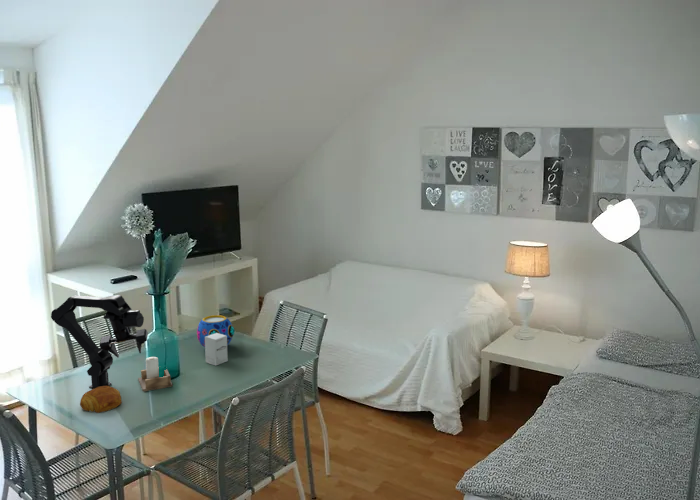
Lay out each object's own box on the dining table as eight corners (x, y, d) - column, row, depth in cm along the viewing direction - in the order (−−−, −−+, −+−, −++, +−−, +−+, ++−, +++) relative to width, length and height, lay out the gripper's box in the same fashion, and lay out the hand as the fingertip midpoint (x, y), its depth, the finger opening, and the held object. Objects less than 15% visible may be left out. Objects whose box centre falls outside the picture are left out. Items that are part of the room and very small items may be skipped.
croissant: (77, 410, 249) (72, 392, 246) (114, 393, 259) (110, 376, 256) (92, 422, 238) (87, 403, 236) (130, 404, 248) (126, 386, 246)
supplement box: (216, 366, 288) (214, 339, 285) (205, 362, 292) (204, 336, 290) (228, 361, 293) (227, 335, 291) (217, 357, 298) (216, 332, 295)
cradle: (142, 391, 260) (142, 381, 260) (138, 380, 272) (137, 370, 271) (172, 386, 266) (172, 376, 265) (166, 375, 277) (166, 365, 276)
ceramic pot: (209, 357, 299) (208, 326, 296) (190, 347, 311) (189, 318, 308) (241, 348, 310) (240, 319, 307) (221, 339, 323) (220, 310, 320)
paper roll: (159, 382, 267) (158, 359, 265) (147, 384, 265) (145, 361, 263) (158, 378, 271) (157, 355, 270) (146, 380, 270) (145, 357, 268)
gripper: (144, 310, 268) (153, 339, 275) (98, 318, 265) (109, 347, 273) (141, 325, 258) (151, 355, 266) (94, 334, 256) (105, 363, 264)
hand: (129, 354), depth 267 cm, fingers open, 9 cm apart
